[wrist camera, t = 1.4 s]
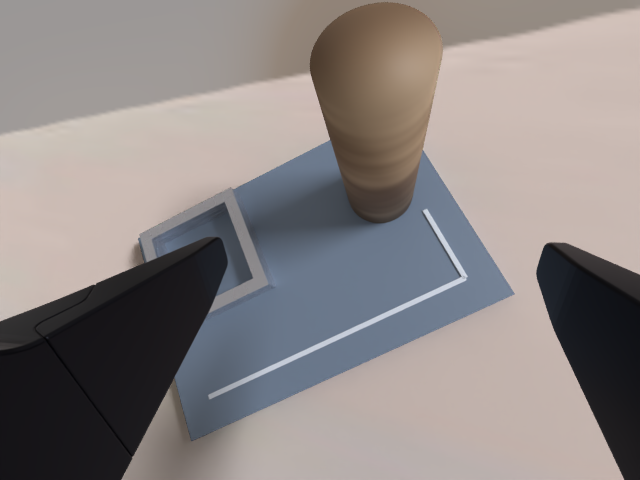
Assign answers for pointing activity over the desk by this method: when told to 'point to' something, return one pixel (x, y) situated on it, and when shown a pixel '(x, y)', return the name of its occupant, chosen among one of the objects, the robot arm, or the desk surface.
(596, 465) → the desk surface
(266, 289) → the metal collar
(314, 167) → the board
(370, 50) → the tan wooden peg
